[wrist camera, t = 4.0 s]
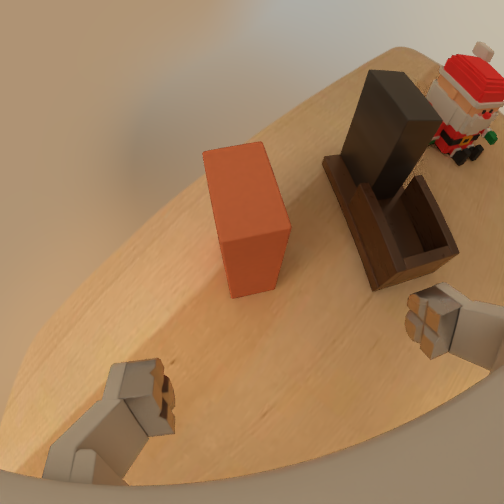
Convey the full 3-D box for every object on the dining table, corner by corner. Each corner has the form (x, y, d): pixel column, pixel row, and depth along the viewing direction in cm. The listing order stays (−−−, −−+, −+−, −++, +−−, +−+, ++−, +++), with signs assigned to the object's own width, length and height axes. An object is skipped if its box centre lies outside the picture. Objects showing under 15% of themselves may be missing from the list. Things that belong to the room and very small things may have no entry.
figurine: (446, 170, 26) (504, 85, 15) (406, 120, 28) (447, 34, 17) (484, 157, 27) (535, 88, 16) (449, 114, 30) (488, 43, 19)
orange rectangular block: (231, 299, 21) (220, 242, 12) (217, 233, 23) (201, 151, 14) (275, 289, 21) (292, 227, 13) (257, 225, 23) (262, 140, 15)
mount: (372, 292, 21) (448, 227, 12) (321, 163, 25) (348, 68, 16) (433, 272, 21) (513, 210, 12) (379, 156, 26) (419, 73, 17)
